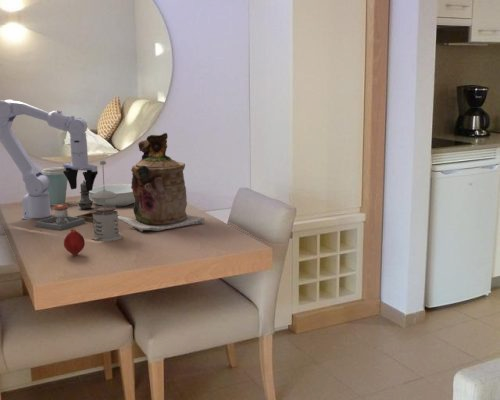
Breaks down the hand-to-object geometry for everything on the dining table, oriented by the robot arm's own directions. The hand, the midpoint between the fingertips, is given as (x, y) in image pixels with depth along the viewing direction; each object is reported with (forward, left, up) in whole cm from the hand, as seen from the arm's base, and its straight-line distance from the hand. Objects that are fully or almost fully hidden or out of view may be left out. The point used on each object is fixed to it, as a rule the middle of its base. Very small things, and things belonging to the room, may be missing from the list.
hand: (81, 189), depth 221 cm
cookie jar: (+29, +8, -11) cm, 32 cm away
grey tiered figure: (-7, +9, -11) cm, 16 cm away
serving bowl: (-4, +23, -11) cm, 26 cm away
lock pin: (+3, -13, -10) cm, 17 cm away
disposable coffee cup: (-26, +13, -11) cm, 31 cm away
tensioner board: (+5, 0, -10) cm, 12 cm away
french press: (+25, -16, -11) cm, 32 cm away
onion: (+31, -36, -11) cm, 49 cm away
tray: (+3, -14, -10) cm, 18 cm away
